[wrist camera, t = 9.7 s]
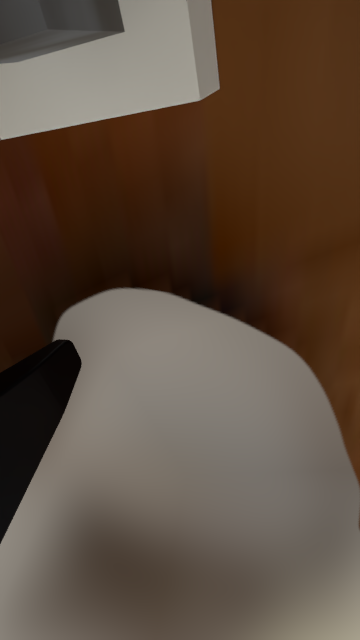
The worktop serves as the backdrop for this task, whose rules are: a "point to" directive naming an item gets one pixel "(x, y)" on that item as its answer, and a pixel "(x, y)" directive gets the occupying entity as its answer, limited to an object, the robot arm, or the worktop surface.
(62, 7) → the charcoal cube
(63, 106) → the cream base block
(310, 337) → the worktop surface
